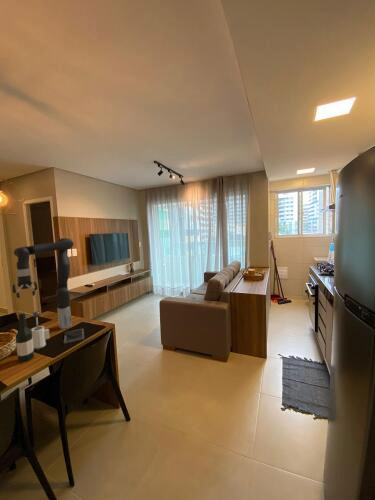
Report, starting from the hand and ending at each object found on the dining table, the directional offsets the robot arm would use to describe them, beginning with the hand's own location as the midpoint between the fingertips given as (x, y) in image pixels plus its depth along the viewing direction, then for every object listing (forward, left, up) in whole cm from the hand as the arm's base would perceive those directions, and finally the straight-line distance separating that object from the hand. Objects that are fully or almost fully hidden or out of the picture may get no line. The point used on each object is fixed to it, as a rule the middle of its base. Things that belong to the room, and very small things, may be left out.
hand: (26, 296), depth 155 cm
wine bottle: (-1, +27, -34) cm, 43 cm away
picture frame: (-29, +11, -34) cm, 46 cm away
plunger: (-7, +13, -22) cm, 26 cm away
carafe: (-8, +13, -34) cm, 37 cm away
